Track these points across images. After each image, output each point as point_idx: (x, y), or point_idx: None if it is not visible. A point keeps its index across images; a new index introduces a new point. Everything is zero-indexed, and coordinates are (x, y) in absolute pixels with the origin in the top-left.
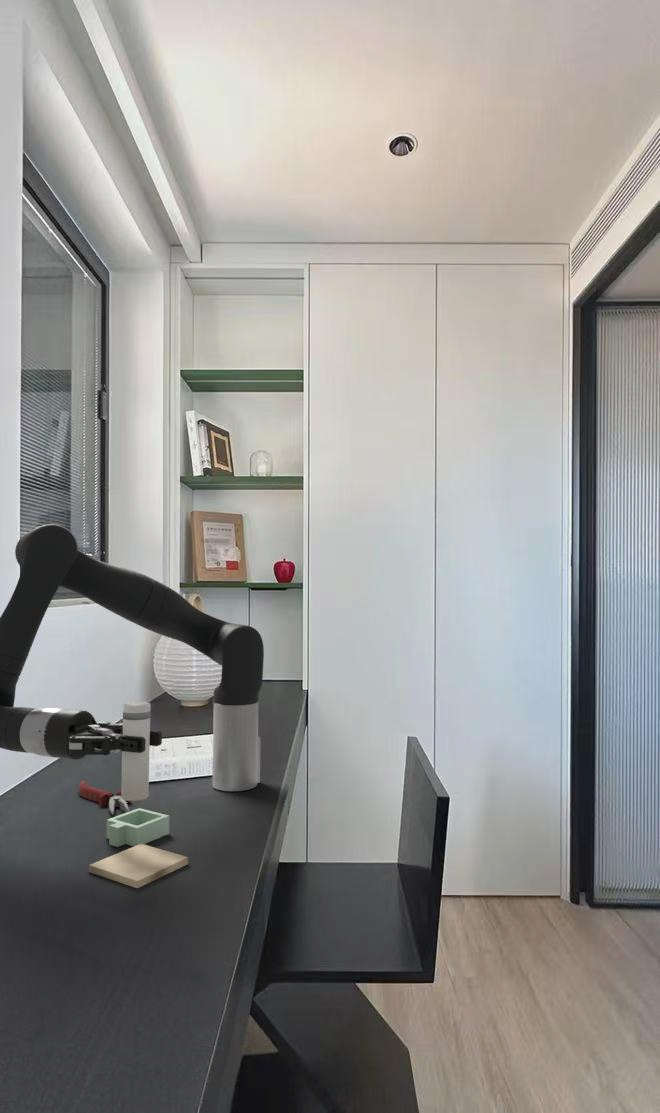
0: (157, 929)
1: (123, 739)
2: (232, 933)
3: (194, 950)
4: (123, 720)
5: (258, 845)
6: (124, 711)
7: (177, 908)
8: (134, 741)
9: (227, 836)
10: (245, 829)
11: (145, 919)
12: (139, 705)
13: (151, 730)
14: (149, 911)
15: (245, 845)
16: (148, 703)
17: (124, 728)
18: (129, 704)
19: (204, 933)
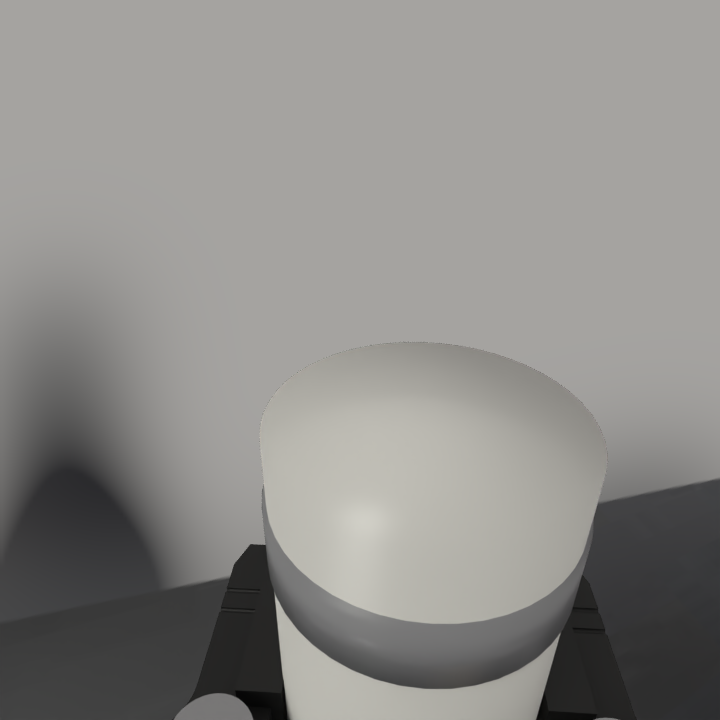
0: (714, 630)
1: (597, 695)
2: (618, 505)
3: (711, 537)
4: (548, 651)
5: (180, 590)
6: (581, 551)
7: (609, 632)
8: (585, 579)
9: (94, 704)
10: (28, 670)
11: (705, 679)
12: (481, 383)
13: (270, 581)
14: (669, 690)
15: (181, 622)
16: (333, 366)
17: (547, 678)
18: (490, 476)
19: (653, 543)
